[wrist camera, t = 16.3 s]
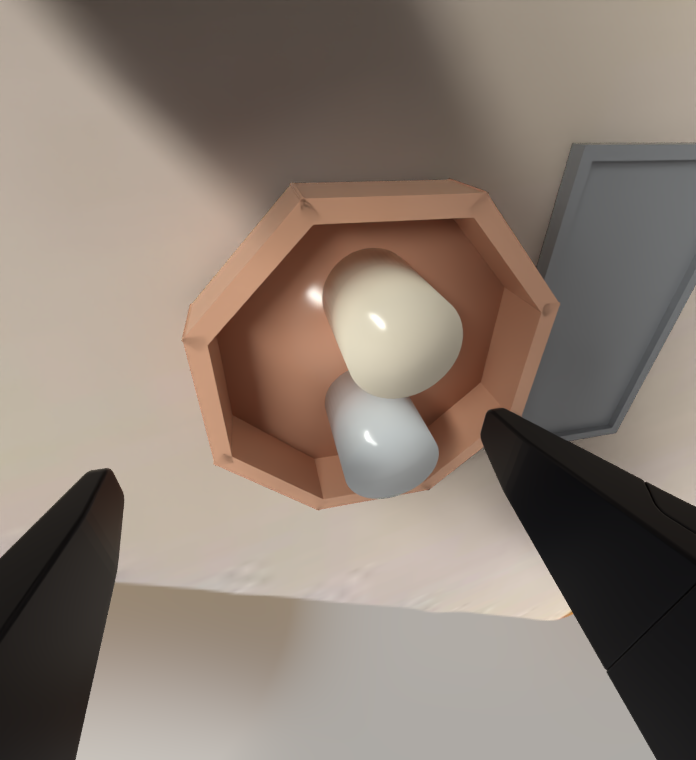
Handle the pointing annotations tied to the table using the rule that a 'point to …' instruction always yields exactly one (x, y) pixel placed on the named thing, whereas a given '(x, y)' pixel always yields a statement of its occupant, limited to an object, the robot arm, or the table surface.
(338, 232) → the terracotta bowl
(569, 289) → the parts tray
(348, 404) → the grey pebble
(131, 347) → the table surface
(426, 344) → the cream rounded cylinder
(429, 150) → the table surface
